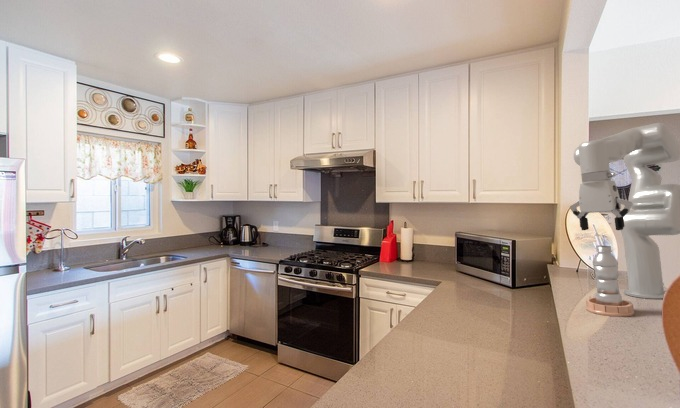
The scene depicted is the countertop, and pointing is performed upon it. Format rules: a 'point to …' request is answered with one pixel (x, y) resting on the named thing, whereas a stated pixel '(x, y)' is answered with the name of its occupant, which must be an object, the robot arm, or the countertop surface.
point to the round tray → (610, 308)
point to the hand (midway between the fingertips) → (601, 229)
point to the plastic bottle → (607, 277)
